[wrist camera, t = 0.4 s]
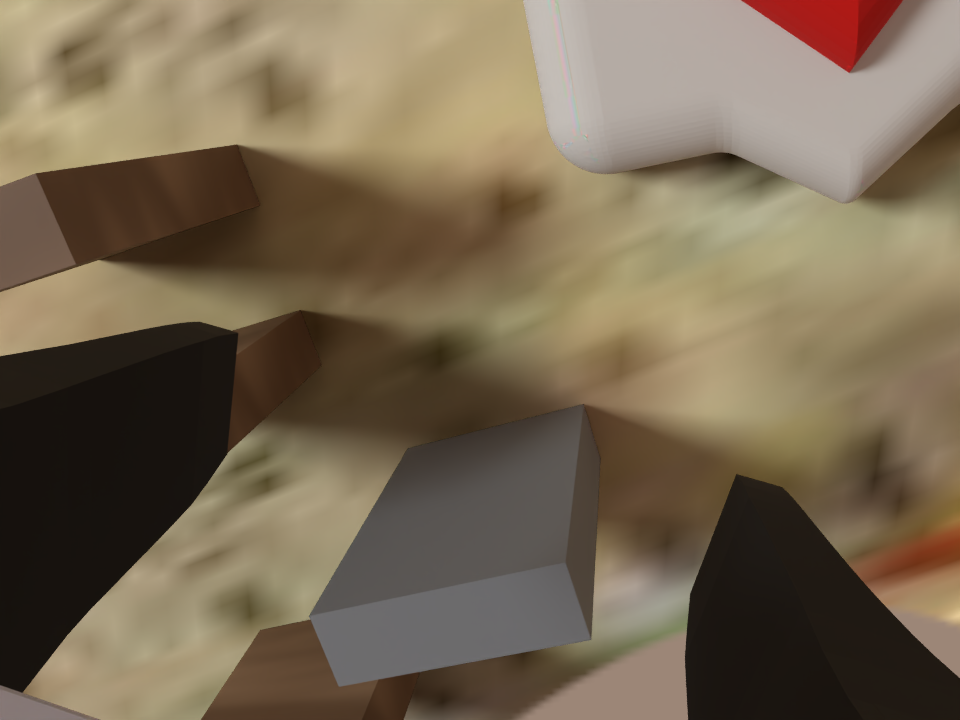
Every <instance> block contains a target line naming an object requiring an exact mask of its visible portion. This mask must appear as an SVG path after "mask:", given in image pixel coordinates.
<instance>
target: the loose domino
mask: <svg viewBox="0 0 960 720" xmlns="http://www.w3.org/2000/svg"><path fill="white" fill-rule="evenodd" d="M599 478H600V456H599V452H598V449H597V446H596V443H595V439H594V436H593V433H592V430H591V427H590V423H589V420H588V417H587V414H586V410H585V407H584V404H582V405H578V406H574V407H570V408H566V409H562V410H558V411H554V412H550V413H547V414H543V415H539V416H535V417H531V418H527V419H523V420H519V421H515V422H511V423H507V424H503V425H499V426H495V427H491V428H487V429H483V430H479V431H475V432H471V433H467V434H463V435H459V436H455V437H451V438H447V439H443V440H439V441H435V442H431V443H428V444H424V445H420V446H416V447H412V448H408V449H407V451H406V452H405V454H404V456H403V457H402V459H401V461H400V463H399V464H398V466H397V468H396V469H395V471H394V473H393V474H392V476H391V478H390V479H389V481H388V483H387V485H386V486H385V488H384V490H383V491H382V493H381V495H380V496H379V498H378V500H377V502H376V503H375V505H374V507H373V508H372V510H371V512H370V513H369V515H368V517H367V519H366V520H365V522H364V524H363V525H362V527H361V529H360V530H359V532H358V534H357V536H356V537H355V539H354V541H353V542H352V544H351V546H350V547H349V549H348V551H347V553H346V554H345V556H344V558H343V559H342V561H341V563H340V564H339V566H338V568H337V569H336V571H335V573H334V575H333V576H332V578H331V580H330V581H329V583H328V585H327V586H326V588H325V590H324V592H323V593H322V595H321V597H320V598H319V600H318V602H317V603H316V605H315V607H314V609H313V610H312V612H311V614H310V615H309V617H310V619H311V622H312V624H313V627H314V629H315V631H316V634H317V636H318V638H319V641H320V643H321V646H322V648H323V650H324V653H325V655H326V657H327V660H328V662H329V665H330V667H331V669H332V672H333V674H334V677H335V679H336V681H337V684H338V686H339V687H341V686H346V685H351V684H357V683H362V682H368V681H373V680H378V679H384V678H389V677H394V676H400V675H405V674H411V673H416V672H421V671H427V670H432V669H437V668H443V667H448V666H454V665H459V664H464V663H470V662H475V661H480V660H486V659H491V658H496V657H502V656H507V655H513V654H518V653H523V652H529V651H534V650H539V649H545V648H550V647H556V646H561V645H566V644H572V643H577V642H582V641H588V640H591V633H592V614H593V594H594V575H595V556H596V536H597V517H598V497H599Z"/></svg>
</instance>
